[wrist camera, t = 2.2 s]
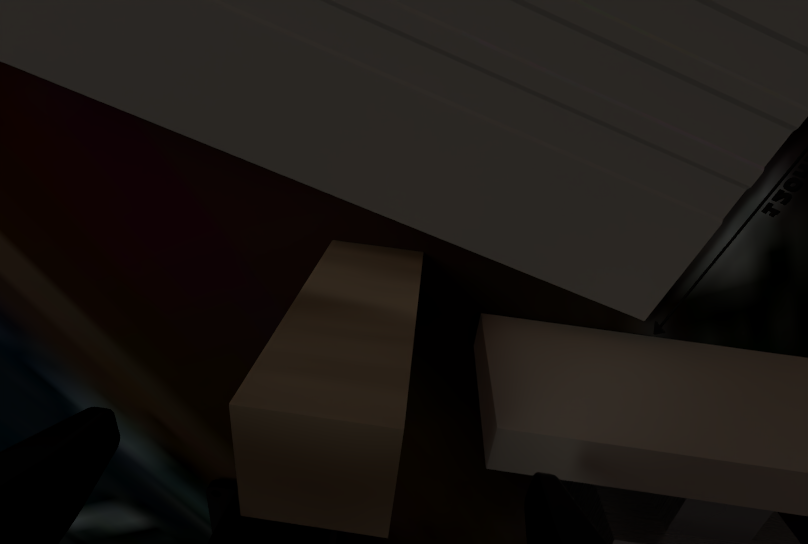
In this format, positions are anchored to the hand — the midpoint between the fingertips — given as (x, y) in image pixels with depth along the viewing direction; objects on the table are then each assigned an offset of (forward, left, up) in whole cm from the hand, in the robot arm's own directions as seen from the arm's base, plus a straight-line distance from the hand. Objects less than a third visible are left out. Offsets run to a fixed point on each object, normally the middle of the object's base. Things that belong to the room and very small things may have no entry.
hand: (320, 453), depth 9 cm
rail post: (0, 0, -7) cm, 7 cm away
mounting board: (-1, -11, -7) cm, 13 cm away
